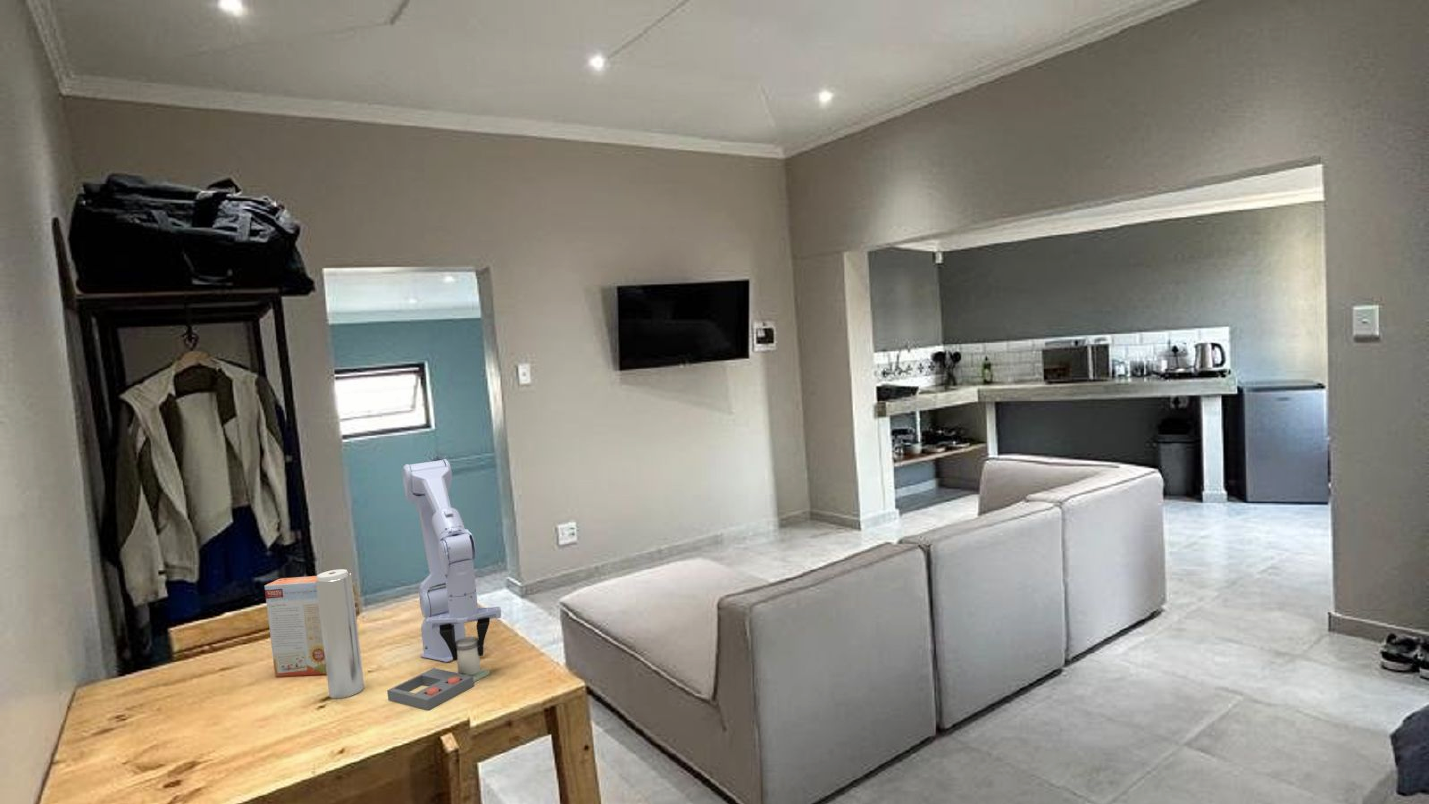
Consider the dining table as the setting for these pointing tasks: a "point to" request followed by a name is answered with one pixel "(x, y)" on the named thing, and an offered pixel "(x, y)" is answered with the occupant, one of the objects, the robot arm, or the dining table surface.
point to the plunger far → (453, 680)
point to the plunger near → (432, 690)
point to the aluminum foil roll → (339, 633)
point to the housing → (432, 680)
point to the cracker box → (295, 627)
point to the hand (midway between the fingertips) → (468, 656)
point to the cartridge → (468, 655)
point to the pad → (480, 675)
